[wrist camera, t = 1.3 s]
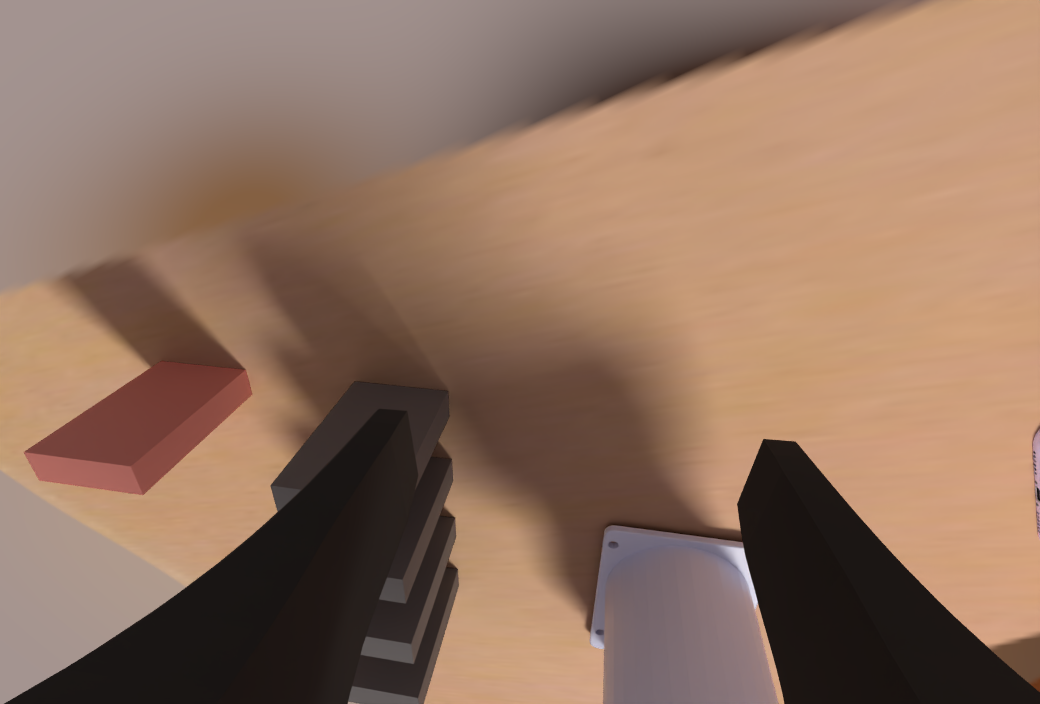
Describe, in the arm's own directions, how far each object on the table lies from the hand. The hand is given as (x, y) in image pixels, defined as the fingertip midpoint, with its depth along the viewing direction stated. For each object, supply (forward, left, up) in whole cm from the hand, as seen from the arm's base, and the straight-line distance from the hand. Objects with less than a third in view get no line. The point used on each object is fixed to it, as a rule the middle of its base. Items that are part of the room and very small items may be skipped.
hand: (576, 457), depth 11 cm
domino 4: (-19, +8, -11) cm, 23 cm away
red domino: (-7, +18, -11) cm, 22 cm away
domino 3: (-15, +8, -11) cm, 20 cm away
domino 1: (-7, +8, -11) cm, 15 cm away
